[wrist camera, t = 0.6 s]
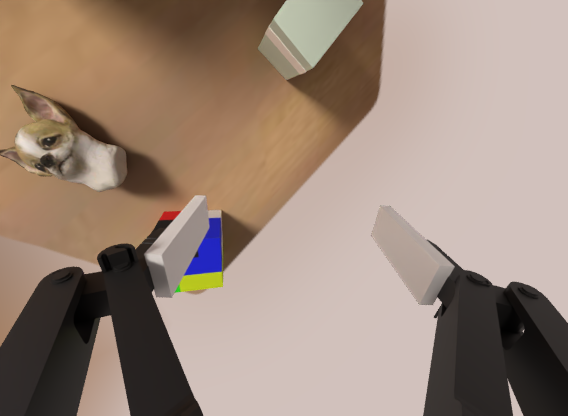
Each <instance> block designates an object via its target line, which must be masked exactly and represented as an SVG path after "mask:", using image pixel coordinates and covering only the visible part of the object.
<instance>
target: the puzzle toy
mask: <svg viewBox="0 0 568 416" xmlns="http://www.w3.org/2000/svg"><path fill="white" fill-rule="evenodd" d="M180 212H181V211H173V212H164V213H163V215H162V216H161V218H160V220H159V221H158V223H157V225H156V226H155V228H154V230H153V231H155V230H157V229H159V228H167V227H168V226H169V225H170V224H171V223H172V222H173V220H174V219H175V218H176V217H177V216H178V215H179V213H180ZM208 219H209V229H208V231H207V233H206V235H205V237H204V239H203V241H202V242H201V244H200V246H199V248H198V250H197V252H196V254H195V255H194V257H193V259H192V261H191V263H190V265H189V267H188V268H187V270H186V272H185V274H184V276H183V278H182V280H181V281H180V283H179V285H178V287H177V289H176V291H175V292H184V291H192V290H201V289H209V288H217V287H223V233H222V214H221V210H208ZM153 231H152V232H153Z"/></svg>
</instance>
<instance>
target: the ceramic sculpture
mask: <svg viewBox="0 0 568 416" xmlns="http://www.w3.org/2000/svg"><path fill="white" fill-rule="evenodd" d="M11 86H12V88H13V89H14V90H15V92H16V93H17V94H18V95H19V97H20V99H21V101H22V103H23V105H24V108H25V110H26V112H27V113H28V114H29V116H30V117H31V118H32V119H33V120H35V121H36V122H34V123H31V124H28V125H25V126H23V127H22V128H21V129H20V130H19V131H18V133H17V135H16V138H15V147H12V148H9V149H4V150H0V155H1V156H3V157H6V158H9V159H11V160H13V161H14V162H16V163H17V164H18V165H20V166H21V167H23V168H25V169H26V170H27V171H29V172H30V173H35V174H37V175H39V176H54V177H56V178H58V179H61V180H66V181H69V182H76V183H83V184H86V185H87V186H89V187H91V188H92V189H94V190H96V191H98V192H101V191H105V190H110V189H114V188H116V187H118V186H119V185H120V184H122V182H123V181H124V180H125V177H126V175H127V172H128V171H127V163H126V152H125V150H124V149H122V148H121V147H119V146H115V145H110V144H105V143H103V142H100V141H98V140H96V139H94V138H93V137H91V136H90V135H88V134H87V133H85V132H83V131H81V130H80V129H79V128H78V127H77V124H76V123H75V121H74V120H73V119H72V118H71V116H70V115H69V114H68V113H67V112H66V111H65V110H64V109H63V108H62V107H61V106H60V105H58V104H57V103H55V102H54V101H53V100H51V99H49V98H47V97H45V96H43V95H40V94H38V93H35V92H33V91H28V90H25V89H22V88H20V87H17V86H14V85H11Z"/></svg>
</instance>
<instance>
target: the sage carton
mask: <svg viewBox="0 0 568 416" xmlns="http://www.w3.org/2000/svg"><path fill="white" fill-rule="evenodd" d="M362 5H363V2H362V0H286V2H285V3H284V4H283V6H282V7H281V9H280V10H279V12H278V13H277V14H276V16H275V17H274V19H273V20H272V22H271V24H270V25H269V27H268V29H267V30H266V32H265V35H264V37H263V39H262V41H261V43H260V45H259V47H258V50H259V51H260V52H261V53H262V54H263V55H264V56H265V57H266V58H267V59H268V61H269V62H270V63H271V64H272V65H273V66H274V67H275V68H276V69H277V71H278V72H279V73H280V74H281V75H282V76H283V77H284V78H285V79H286V80H288V79H290V78H293V77H295V76H297V75H299V74H300V75H301V74H303V73H305V72H307V71H308V70H310V69H312V68H313V67H314V66H315V65H316V64H317V62H318V61H319V60H320V59H321V57H322V56H323V55H324V53H325V52H326V51H327V50H328V48H329V47H330V46H331V44H332V43H333V42H334V41H335V39H336V38H337V37H338V35H339V34H340V33H341V32H342V30H343V29H344V28H345V26H346V25H347V24H348V23H349V21H350V20H351V19H352V17H353V16H354V15H355V14H356V12H357V11H358V10H359V8H360V7H361V6H362Z"/></svg>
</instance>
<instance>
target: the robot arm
mask: <svg viewBox="0 0 568 416" xmlns="http://www.w3.org/2000/svg"><path fill="white" fill-rule="evenodd" d="M208 229H209V219H208V209H207V199H206V196H202V195H195V196H194V197H193V199H192V200H191V201H190V202H189V203H188V204H187V205H186V207H185V208H184V209H183V210H182V211H181V212H180V213H179V215H178V216H177V217H176V218H175V219H174V220H173V222H172V223H171V224H170V225H169V226H168V227H167V228H159V229H157V230H155V231H153V232H152V233H151V234H150V235H149V236H148V237H147V239H145V240H144V241H143V242H142V244H140V245H139V246H138V247H137V248H136V249H135V247H134V246H133V245H131V244H118V245H114V246H111V247H108V248H106V249H105V250H103V251H101V252H100V253H99V254H98V257H97V260H98V262H99V265H100V267H101V269H102V271H101V272H96V273H90V274H84V272H83V270H82V269H81V268H80V267H67V268H63V269H59V270H57V271H55V272H53V273H51V274H49V275H47V276H46V277H44V278H43V279H42V280H41V281H40V283H39V284H38V286H37V287H36V289H35V291H34V293H33V294H32V296H31V297H30V299H29V301H28V302H27V304H26V306H25V307H24V309H23V311H22V312H21V314H20V315H19V317H18V319H17V321H16V322H15V324H14V325H13V327H12V329H11V330H10V332H9V334H8V335H7V337H6V338H5V340H4V342H3V343H2V345H1V347H0V416H77V412H78V407H79V403H80V399H81V395H82V391H83V387H84V383H85V379H86V375H87V371H88V367H89V362H90V358H91V354H92V350H93V346H94V342H95V338H96V334H97V330H98V326H99V322H100V318H101V317H104V316H109V315H111V317H112V322H113V327H114V332H115V337H116V342H117V348H118V353H119V357H120V363H121V368H122V373H123V378H124V384H125V389H126V394H127V399H128V405H129V410H130V415H131V416H203V413H202V411H201V409H200V406H199V404H198V402H197V401H196V399H195V398H194V396H193V393H192V391H191V388H190V386H189V384H188V381H187V379H186V376H185V374H184V371H183V369H182V366H181V364H180V362H179V359H178V357H177V354H176V352H175V349H174V347H173V344H172V342H171V340H170V337H169V335H168V332H167V329H166V327H165V325H164V322H163V320H162V317H161V315H160V312H159V310H158V307H157V305H156V303H155V300H154V298H153V295H152V291H153V290H154V291H155V294H156V297H170V298H171V297H172V296H173V294H174V293H175V291H176V289H177V287H178V285H179V283H180V281H181V280H182V278H183V276H184V274H185V272H186V270H187V268H188V267H189V265H190V263H191V261H192V259H193V257H194V255H195V254H196V252H197V250H198V248H199V246H200V244H201V242H202V241H203V239H204V237H205V235H206V233H207V231H208ZM371 236H372V237H373V239H374V240H375V242H376V243H377V244H378V246H379V247H380V249H381V250H382V252H383V253H384V255H385V256H386V258H387V259H388V260H389V262H390V263H391V265H392V266H393V268H394V269H395V270H396V272H397V273H398V275H399V276H400V278H401V279H402V281H403V282H404V283H405V285H406V286H407V288H408V289H409V290H410V292H411V294H412V295H413V296H414V298H415V299H416V301H417V302H418V304H420V305H433V303H434V302H435V300H436V298H437V297H438V298H439V299H440V301H441V302H442V304H441V306H440V308H439V309H438V311H437V312H436V314H435V316H434V318H437V316H438V320H437V327H436V333H435V340H434V347H433V353H432V360H431V368H430V374H429V381H428V387H427V394H426V401H425V408H424V415H423V416H513V413H512V406H511V399H510V393H509V386H508V381H509V383H510V385H511V388H512V390H513V392H514V395H515V397H516V399H517V401H518V404H519V406H520V408H521V411H522V413H523V415H524V416H568V323H567V322H566V320H565V319H564V318H563V317H562V316H561V314H560V313H559V312H558V311H557V310H556V308H555V307H554V306H553V305H552V304H551V302H550V301H549V300H548V299H547V298H546V297H545V296H544V295H543V294H542V293H541V292H539V291H538V290H537V289H535V288H533V287H531V286H529V285H525V284H523V283H519V282H511V283H510V284H509V285H508V286H507V288H502V287H498V286H493V285H492V283H491V282H490V281H489V280H488V279H486V278H484V277H483V276H482V275H479V274H477V273H475V272H472V271H467V270H463V269H462V268H461V267H460V266H459V265H458V264H456V263H455V262H454V261H453V260H452V259H451V258H450V257H449V256H447V254H445V253H444V252H443V251H442V250H441V249H440V248H439V247H438V246H437V245H435V244H434V243H432V242H430V241H429V240H426V239H425V238H424V237H423V236H422V235H420V233H418V232H417V231H416V230H415V229H414V228H413V227H412V226H411V225H410V224H409V223H408V222H407V221H405V219H403V218H402V217H401V216H400V215H399V214H398V213H397V212H396V211H395V210H394V209H393V208H392V207H391V206H380V209H379V212H378V215H377V218H376V222H375V225H374V228H373V231H372V235H371ZM523 330H524V333H523V332H522V331H523ZM507 378H508V380H507Z"/></svg>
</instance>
